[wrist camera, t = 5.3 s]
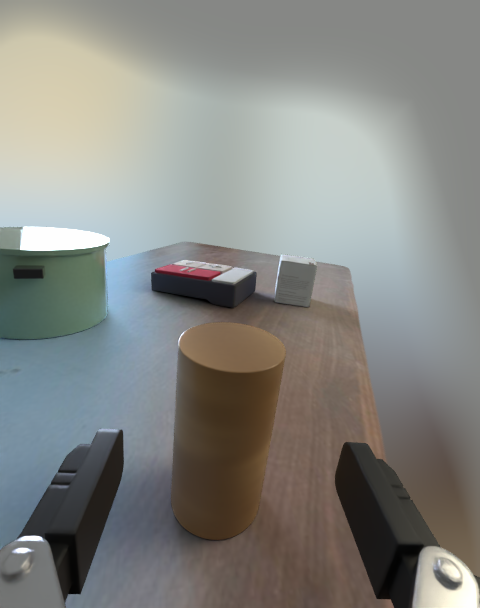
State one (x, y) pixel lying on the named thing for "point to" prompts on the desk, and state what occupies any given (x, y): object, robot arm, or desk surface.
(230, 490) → the tall wooden cylinder
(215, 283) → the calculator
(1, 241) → the pot
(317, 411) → the desk surface
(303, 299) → the white cardboard box
